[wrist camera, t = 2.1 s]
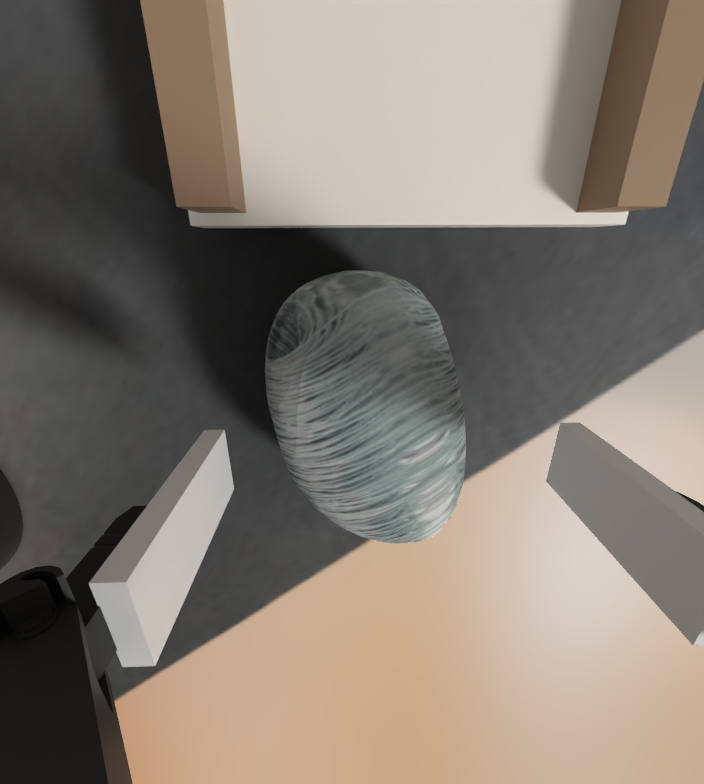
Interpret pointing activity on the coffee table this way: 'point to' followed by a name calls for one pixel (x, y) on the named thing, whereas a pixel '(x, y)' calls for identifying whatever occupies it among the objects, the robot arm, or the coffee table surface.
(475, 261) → the coffee table surface
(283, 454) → the grey streaked oval piece
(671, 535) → the robot arm
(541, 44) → the shelf bay
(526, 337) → the coffee table surface
